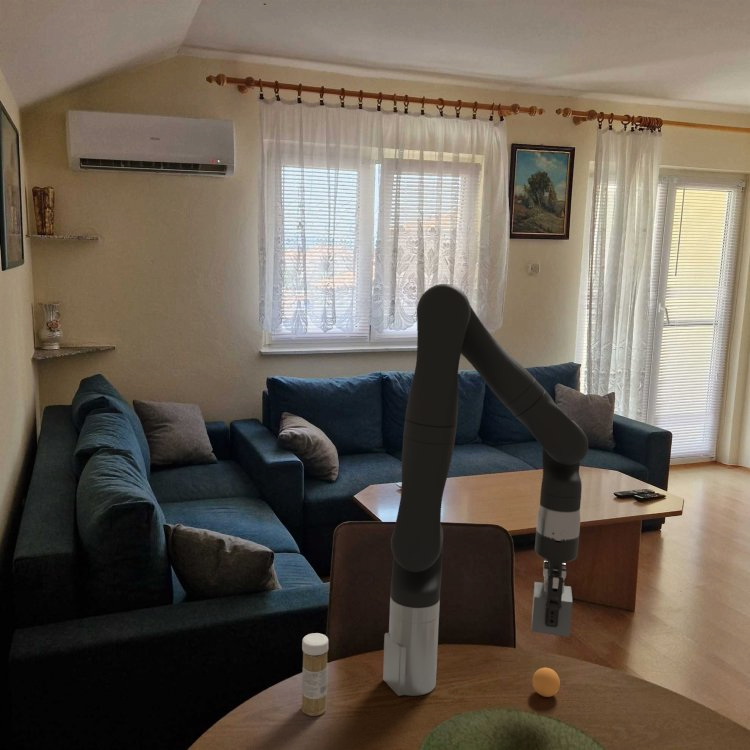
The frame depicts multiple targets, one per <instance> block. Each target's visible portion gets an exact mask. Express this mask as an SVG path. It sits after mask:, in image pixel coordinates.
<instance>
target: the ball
mask: <svg viewBox="0 0 750 750" xmlns="http://www.w3.org/2000/svg"><path fill="white" fill-rule="evenodd" d="M532 686H533V688H534V690H535V692H536V693H537V694H538V695H540V696H542V697H545V698H546V697H547V698H548V697H549V698H550V697H553V696H556V695H557V693H558V692H559V690H560V687H561V680H560V677H559V675H558V674H557V672H556V671H555V670H554V669H552V668H549V667H541V668H539V669H537V670H536V671H535V672H534V673H533V675H532Z"/></svg>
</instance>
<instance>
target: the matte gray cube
mask: <svg viewBox="0 0 750 750" xmlns="http://www.w3.org/2000/svg"><path fill="white" fill-rule="evenodd" d="M533 583H534V586H533V598H532V610H531V632H532V633H539V634H546V635H553V636H558V637H559V636H560V637H566V638H570V636H571V635H570V634H571V623H572V613H573V612H572V611H573V594H572V587H571V586H569V585H568V586H567V585H564V593H563V594H562V599H561V605H562V607H561V609H560V610H559V615H558V626H557V627H548V626H546V625H545V614H546V606H545V601H546V593H545V592H544V582H539V581H534V582H533ZM547 587H548V584H547ZM550 600H554V601H557V597H550Z"/></svg>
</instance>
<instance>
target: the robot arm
mask: <svg viewBox="0 0 750 750" xmlns="http://www.w3.org/2000/svg"><path fill="white" fill-rule="evenodd" d="M416 320H417V321H416V322H417V323H416V325H417V331H416V332H417V338H416V339H417V341H416V342H417V343H416V346H417V347H416V361H415V368H414V373H413V378H412V381H411V385H410V389H409V395H408V398H407V403H406V411H405V416H404V417H405V418H404V427H403V434H402V435H403V437H402V448H401V449H402V452H401V492H400V498H399V499H400V500H399V506H398V512H397V514H396V515H397V516H396V520H395V524H394V528H393V530H392V531H393V532H392V534H391V538H390V547H391V552H392V555H393V559H392V571H391V580H390V597H389V598H390V599H389V600H390V601H389V619H388V620H389V622H388V623H389V624H388V632H385V633H384V642H383V668H382V669H383V671H382V672H383V674H382V680H383V681H384V682H385V683H386V685H387V686H388V687H390V689H391V690H392V691H393V692H394V693H395V694H396V695H397V696H398V697H401V696H412V697H417V696H423V695H427V694H429V693H431V692H432V691H433V690H434V689H435V687H436V685H437V665H438V663H437V662H438V646H439V645H438V643H439V621H440V620H439V619H440V603H441V602H440V601H441V600H440V599H441V588H442V587H441V583H442V567H443V564H442V563H443V549H444V547H443V546H444V530H443V526H442V524H441V520H442V504H443V503H442V501H443V495H444V492H445V487H446V483H447V480H448V475H449V471H450V467H451V462H452V457H453V455H454V453H453V452H454V448H455V442H456V441H455V440H456V434H457V425H458V416H459V415H458V414H459V366H460V359H461V355H462V356H463V357H464V358H465V359H466V360H467V362H469V363H470V364H471V366H472V367H473V368H474V369H475V371H476V372H477V373H478V374H479V376H480V377H481V379H482V380H483V381H484V382H485V384H486V385H487V386H488V388H489V389H490V390H491V392H492V393H494V395H495V396H496V398H498V399H499V400H500V402H501V403H502V404H503V405H504V406H505V407H506V408H507V409H508V410H509V412H511V413H512V415H513V416H514V417H515V418H516V420H518V421H519V422H520V423H522V425H524V426H525V427H526V428H527V429H528V431H529V432H530V433H531V435H532V436H533V437H534V438H535V440H536V441H537V442H538V443H539V445H540V446H541V448H542V450H541V452H542V453H541V454H542V457H541V458H542V460H541V461H542V479H541V480H542V481H541V487H540V499H539V500H540V501H539V507H538V511H537V517H536V530H535V531H536V532H535V541H534V542H535V544H534V551H535V554H536V555H537V556H538V557H540V558H541V559H543V566H542V569H543V572H542V573H543V574H542V575H543V580H544V581H543V583H544V592H545V593H546V601H545V606H546V614H545V625H546V626H548V627H557V626H558V615H559V610H560V609H561V607H562V605H561V599H562V594H563V593H564V586H565V579H566V577H567V568H566V567H567V565H566V564H567V563H569V562H573V561H575V560H576V559H577V557H578V553H579V552H578V551H579V542H580V532H581V531H580V530H581V528H580V527H581V503H582V479H581V477H580V464H581V461H583V460H584V459H585V457H586V456H587V453H588V451H589V441H588V437H587V435H586V433H585V432H584V431H583V429H582V428H581V426H579V425H578V423H577V422H576V421H575V420H572V419H571V418H570V417H569V416H568V415H567V413H565V411H564V410H562V409H561V408H560V407H559V406H558V405H557V404H556V403H555V401H554V399H553V398H552V396H551V395H550V394H549V392H548V391H547V390H546V389H545V388H544V387H543V386H542V385H541V383H539V382H538V380H536V378H535V377H534V376H533V375H532V374H531V373H530V372H529V371H528V370H527V369H526V367H524V366H523V365H522V364H521V363H520V362H519V361H518V360H517V359H516V358H515V357H514V356H513V355H511V354H510V352H508V351H507V349H505V347H504V346H503V345H502V344H500V343H499V342H498V340H497V339H496V338H495V337H494V336H493V334H492V333H490V331H489V330H488V329H487V328H486V326H485V325H484V324H483V322H482V321H481V319H480V318H479V316H478V315H477V313H476V312H475V310H474V308H473V307H472V305H471V303H470V301H469V298H468V296H467V295H466V293H465V292H464V291H463V290H462V289H460V288H459V287H458V286H455V285H453V284H451V283H450V284H449V283H439V284H435V285H433V286H432V287H430V288H428V289H427V290H426V291H424V292H423V293H422V295H421V296H420V298H419V301H418V303H417V307H416ZM544 559H545V560H544ZM547 584H548V587H547ZM550 597H557V601H554V600H550Z"/></svg>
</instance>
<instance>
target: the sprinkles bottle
mask: <svg viewBox="0 0 750 750" xmlns="http://www.w3.org/2000/svg"><path fill="white" fill-rule="evenodd" d="M301 641H302V643H301V645H302V646H301V649H302V675H301V677H302V678H301V693H302V698H301V700H302V701H301V702H302V703H301V710H302V712H303V714H306V715H308V716H310V717H311V716H312V717H316V716H320V715H323V714H324V713H325V712H326V710H327V709H328V707H327V705H328V704H327V693H328V652H329V638H328V636H326V634H323V633H319V632H315V633H313V632H312V633H308V634H307V635H305V636H304V637H303V638H302V640H301Z"/></svg>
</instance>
